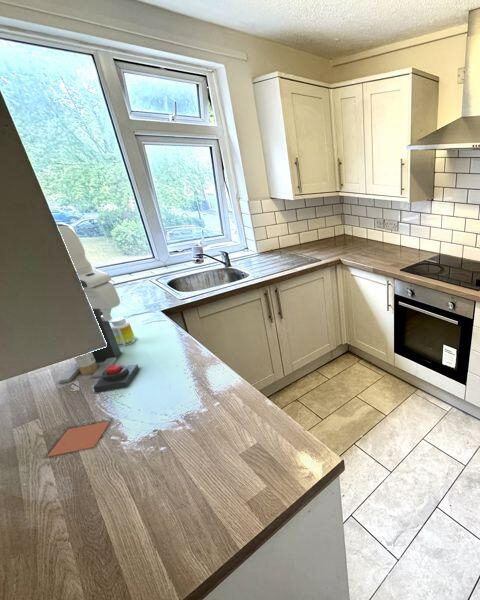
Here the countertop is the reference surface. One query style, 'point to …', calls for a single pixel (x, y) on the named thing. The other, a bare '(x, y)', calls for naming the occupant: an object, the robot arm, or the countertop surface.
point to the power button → (113, 369)
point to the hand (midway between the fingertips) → (94, 319)
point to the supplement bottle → (122, 331)
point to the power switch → (116, 378)
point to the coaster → (79, 438)
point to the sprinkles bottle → (86, 363)
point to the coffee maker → (99, 351)
